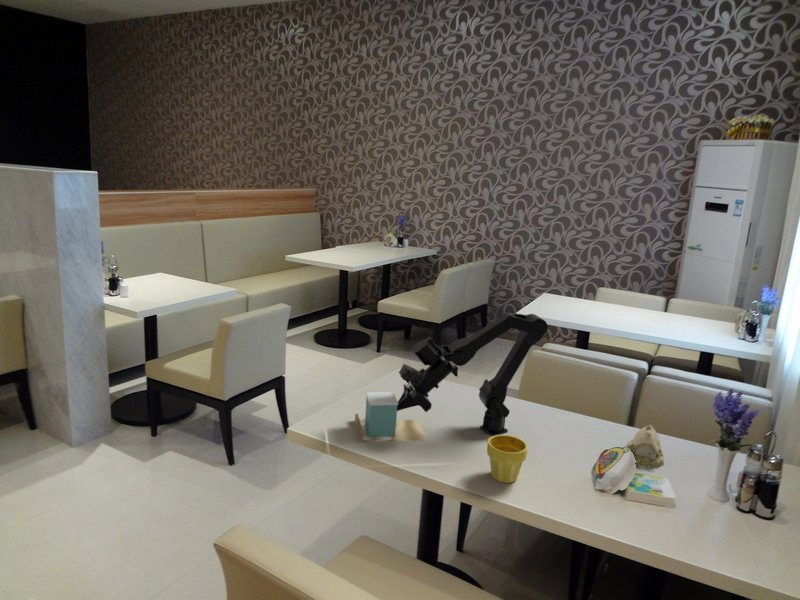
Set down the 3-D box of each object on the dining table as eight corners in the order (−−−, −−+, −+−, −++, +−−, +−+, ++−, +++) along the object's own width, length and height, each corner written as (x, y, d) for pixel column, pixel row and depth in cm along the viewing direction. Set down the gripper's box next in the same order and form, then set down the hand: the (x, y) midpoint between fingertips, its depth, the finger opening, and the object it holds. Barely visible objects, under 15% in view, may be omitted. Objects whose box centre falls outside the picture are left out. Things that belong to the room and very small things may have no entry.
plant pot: (479, 480, 150) (483, 446, 148) (489, 463, 160) (492, 431, 158) (519, 491, 147) (523, 456, 144) (526, 472, 156) (530, 439, 154)
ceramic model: (662, 472, 162) (668, 439, 160) (620, 461, 167) (625, 429, 165) (665, 452, 174) (671, 422, 172) (626, 442, 179) (631, 412, 177)
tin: (391, 424, 179) (393, 392, 176) (395, 436, 170) (398, 403, 168) (364, 424, 177) (366, 392, 175) (367, 437, 169) (369, 403, 166)
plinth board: (417, 421, 183) (418, 412, 182) (427, 442, 170) (428, 432, 169) (354, 422, 179) (355, 413, 179) (360, 443, 166) (360, 434, 165)
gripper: (410, 347, 179) (373, 380, 180) (423, 367, 161) (382, 404, 162) (432, 371, 183) (396, 403, 183) (448, 394, 165) (407, 430, 165)
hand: (395, 409), depth 173 cm, fingers closed, pressing on tin
